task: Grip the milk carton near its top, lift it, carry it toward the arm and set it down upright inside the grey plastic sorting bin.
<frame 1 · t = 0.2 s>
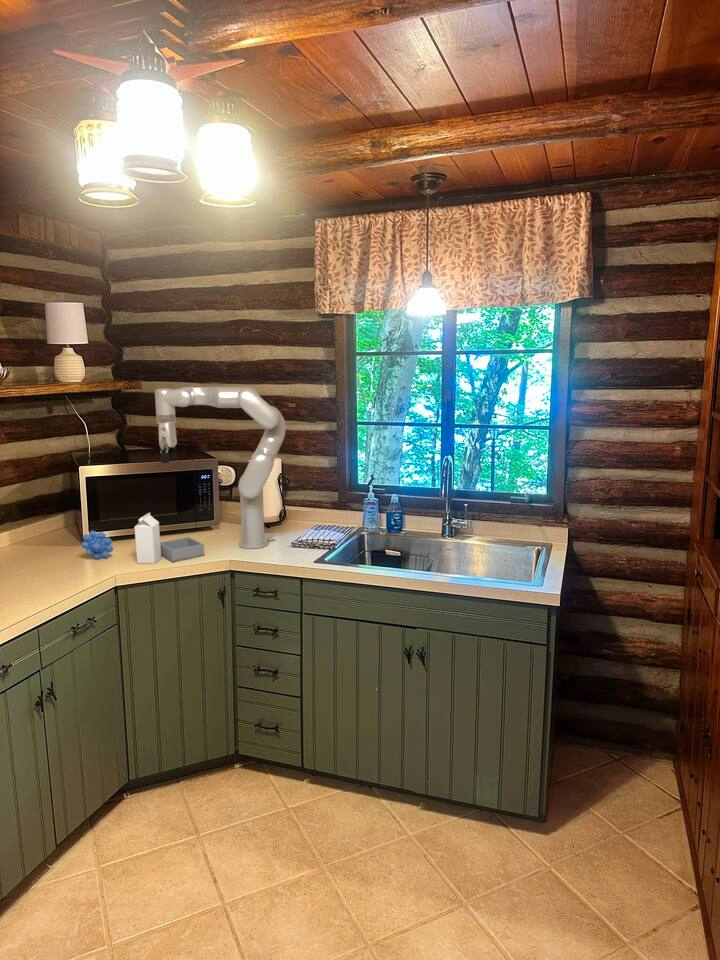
hand: (168, 460, 284), 37 cm above the worktop, tool pointing down, fingers open, 9 cm apart
sorting bin: (181, 555, 280), on the worktop
grapes: (98, 560, 275), on the worktop
milk carton: (149, 561, 273), on the worktop
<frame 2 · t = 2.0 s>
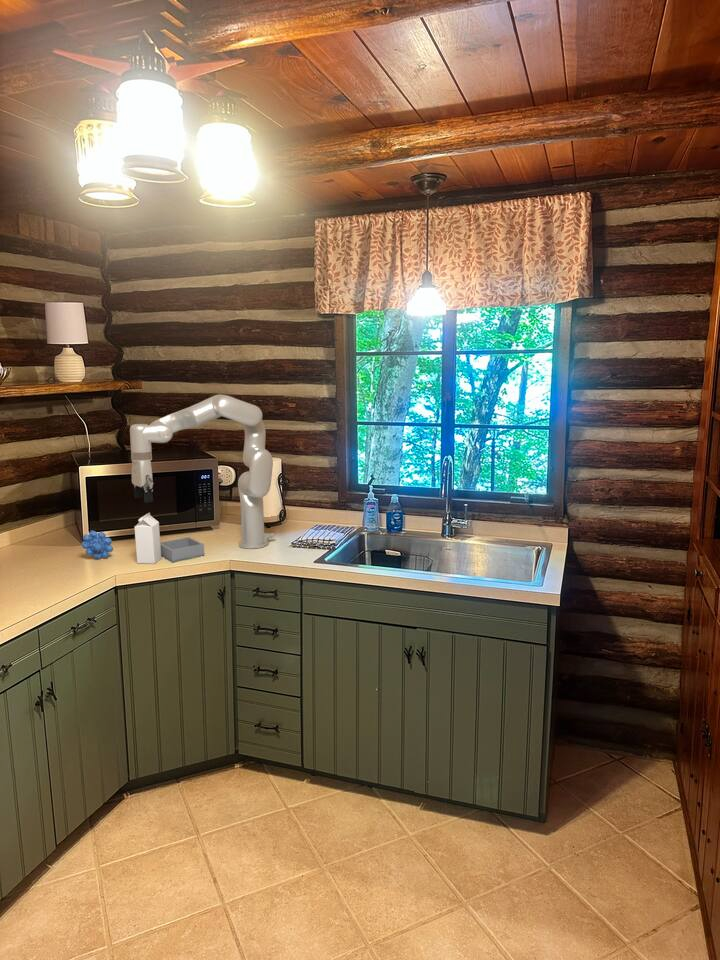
hand: (143, 499, 268), 25 cm above the worktop, tool pointing down, fingers open, 9 cm apart
nothing on the worktop moved.
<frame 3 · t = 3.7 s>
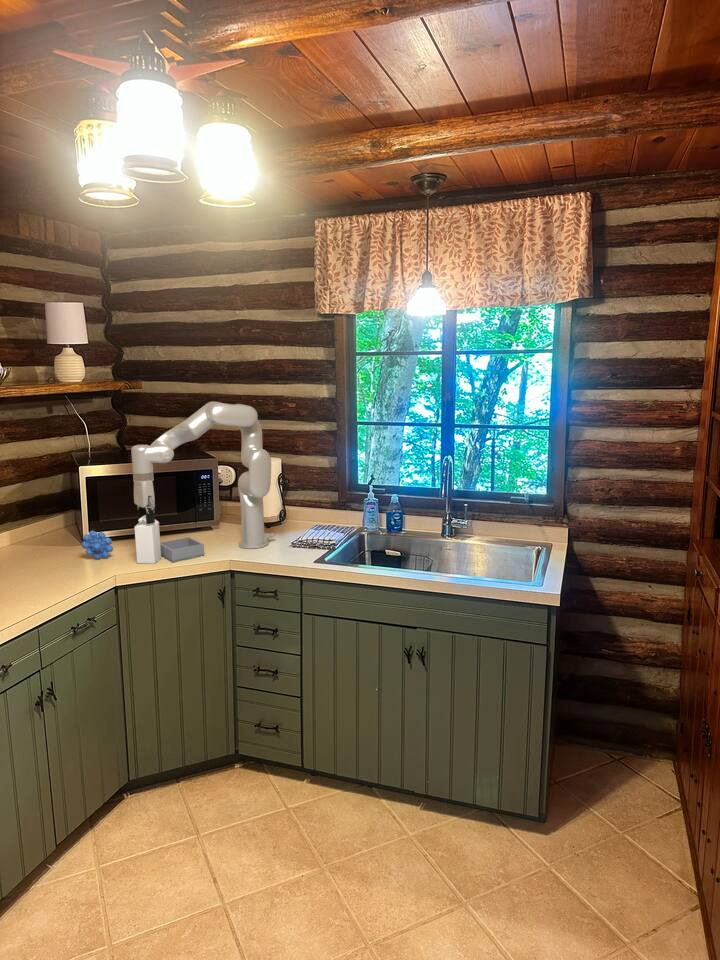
hand: (146, 520, 270), 16 cm above the worktop, tool pointing down, fingers closed on milk carton, 7 cm apart
milk carton: (149, 561, 273), on the worktop, touching gripper
everything else where it was.
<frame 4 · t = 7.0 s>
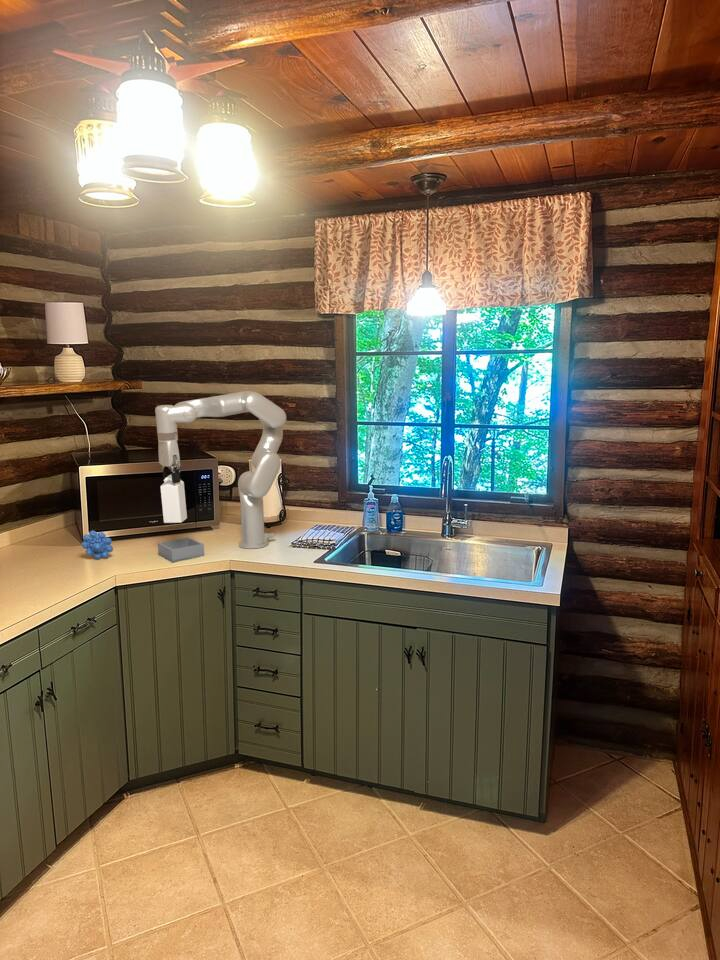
hand: (172, 480, 273), 31 cm above the worktop, tool pointing down, fingers closed on milk carton, 7 cm apart
milk carton: (175, 521, 277), point 14 cm above the worktop, touching gripper
everything else where it was.
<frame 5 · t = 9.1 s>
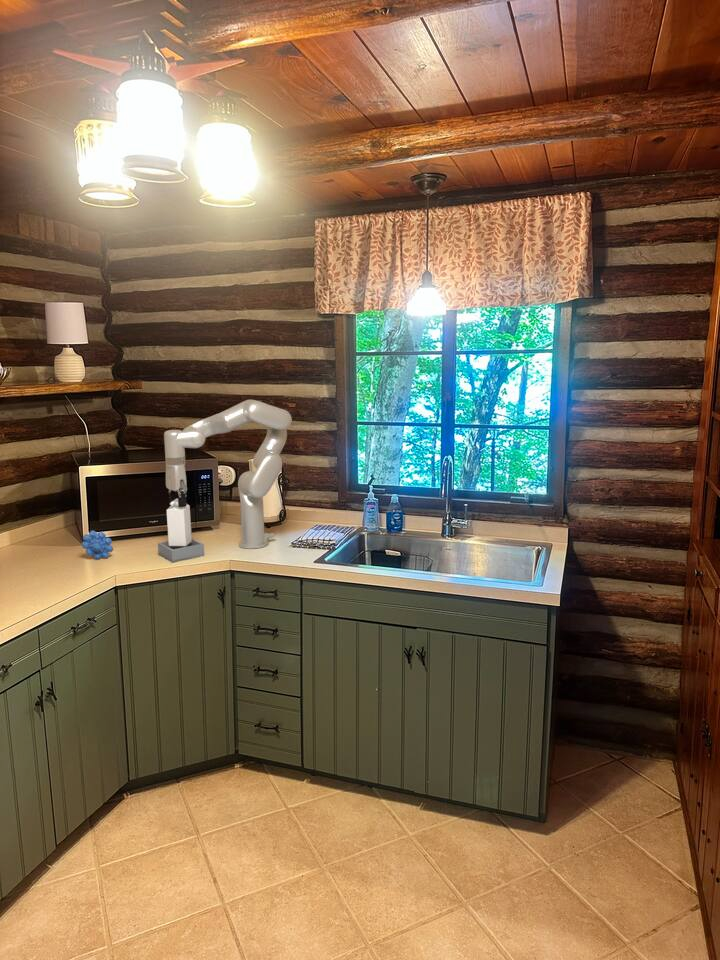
hand: (178, 504, 276), 21 cm above the worktop, tool pointing down, fingers closed on milk carton, 7 cm apart
milk carton: (180, 544, 279), point 5 cm above the worktop, touching gripper
everything else where it was.
when the fingers open (19 cm above the worktop, at t = 10.7 s): milk carton drops 1 cm, resting on sorting bin.
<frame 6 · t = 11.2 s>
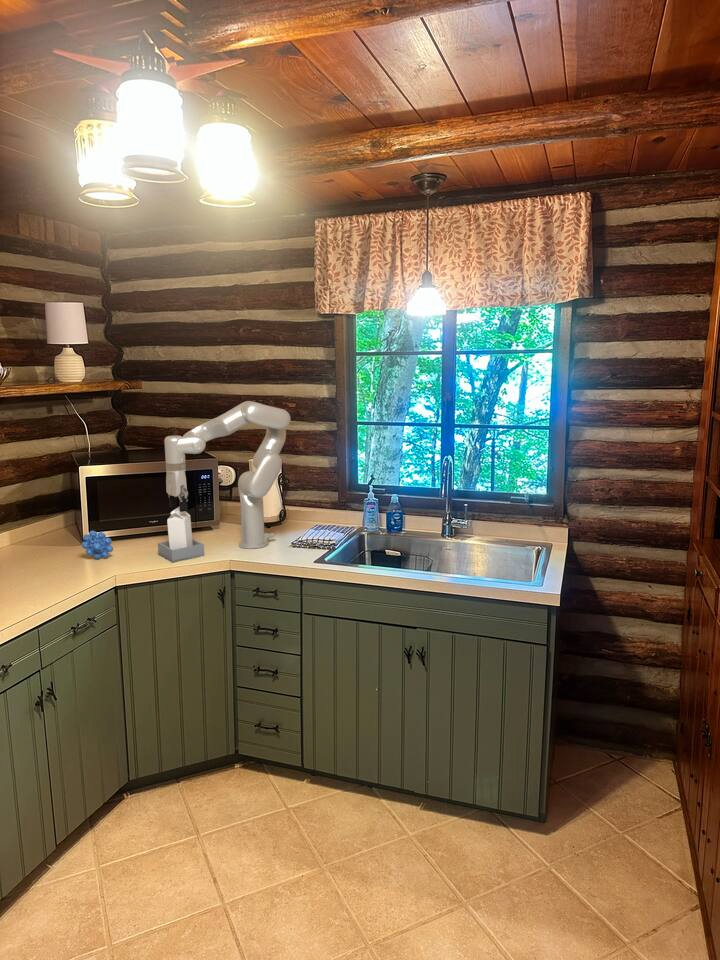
hand: (178, 509, 277), 19 cm above the worktop, tool pointing down, fingers open, 9 cm apart
milk carton: (181, 553, 280), point 1 cm above the worktop, touching sorting bin
everything else where it was.
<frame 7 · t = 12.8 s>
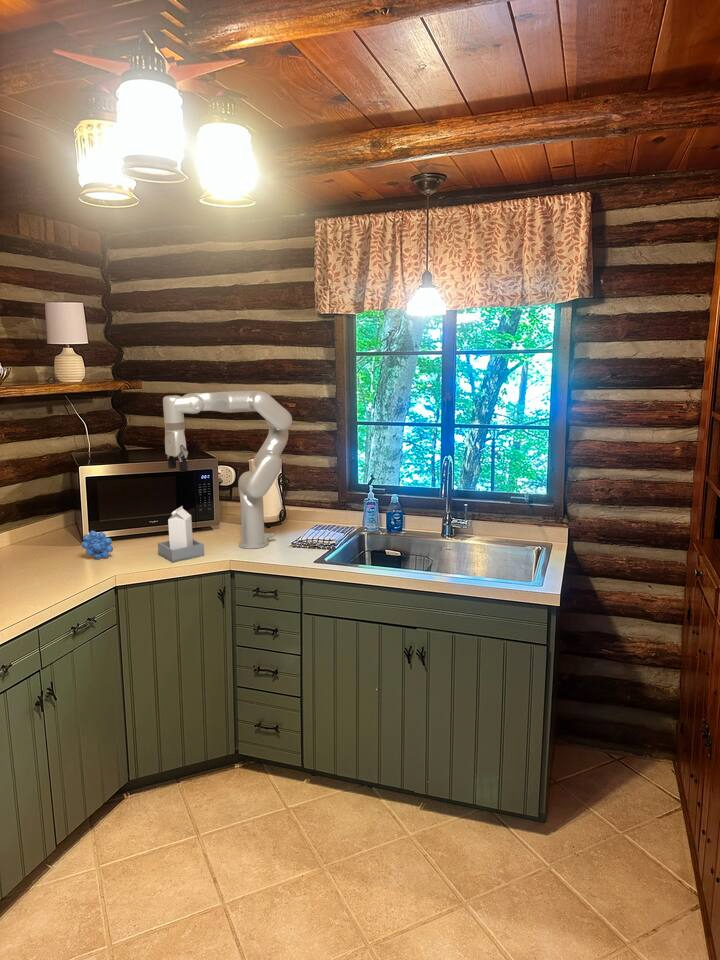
hand: (178, 469, 276), 35 cm above the worktop, tool pointing down, fingers open, 9 cm apart
nothing on the worktop moved.
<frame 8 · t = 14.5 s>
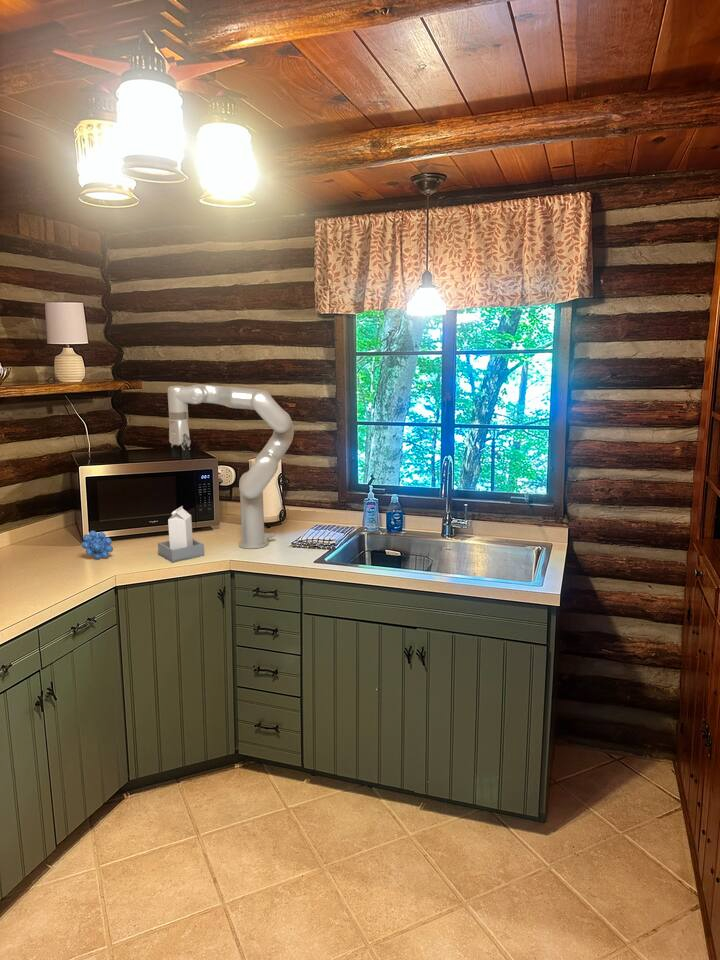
hand: (181, 458, 283), 38 cm above the worktop, tool pointing down, fingers open, 9 cm apart
nothing on the worktop moved.
at the end: milk carton 0.3 cm off-centre on the sorting bin, point 0.6 cm above the sorting bin's base; milk carton tilted 0°; the gripper is holding nothing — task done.
